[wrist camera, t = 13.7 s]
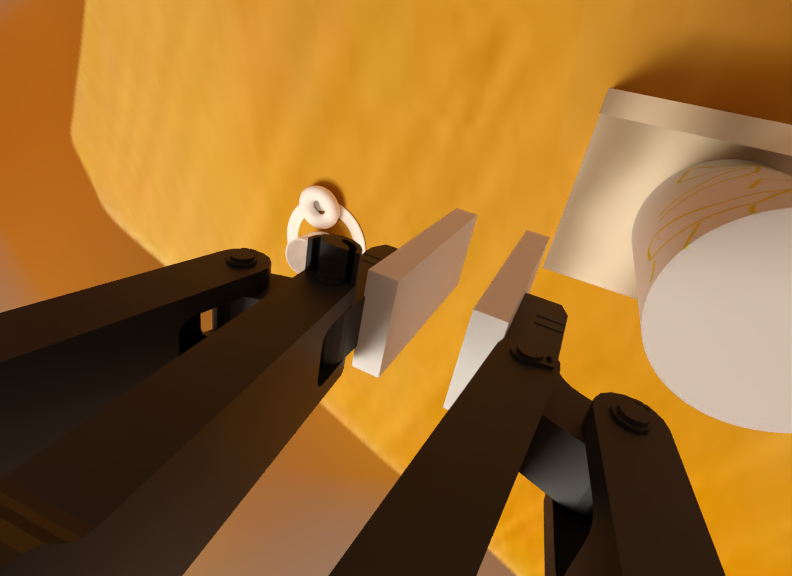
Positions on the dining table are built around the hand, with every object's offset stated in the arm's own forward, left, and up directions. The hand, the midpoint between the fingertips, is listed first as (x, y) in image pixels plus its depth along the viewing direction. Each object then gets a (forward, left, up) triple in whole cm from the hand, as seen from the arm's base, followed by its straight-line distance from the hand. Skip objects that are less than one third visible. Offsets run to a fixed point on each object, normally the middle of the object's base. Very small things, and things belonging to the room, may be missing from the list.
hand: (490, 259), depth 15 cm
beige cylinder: (+9, 0, -15) cm, 17 cm away
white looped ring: (-14, -8, -17) cm, 23 cm away
